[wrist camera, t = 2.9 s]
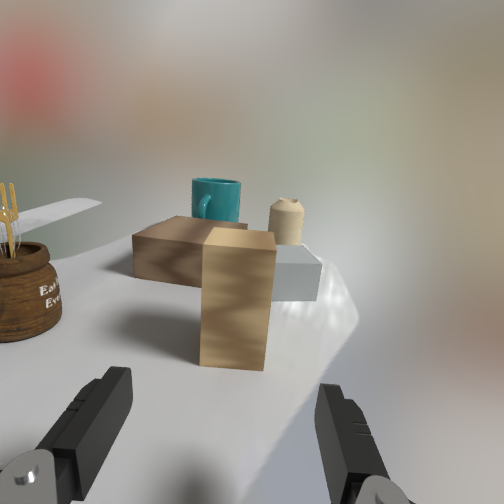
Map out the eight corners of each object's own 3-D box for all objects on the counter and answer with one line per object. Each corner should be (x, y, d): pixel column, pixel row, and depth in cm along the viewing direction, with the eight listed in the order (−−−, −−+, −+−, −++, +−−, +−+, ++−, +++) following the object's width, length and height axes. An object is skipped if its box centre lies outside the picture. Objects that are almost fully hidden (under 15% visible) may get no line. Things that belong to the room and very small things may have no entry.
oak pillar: (199, 366, 22) (202, 244, 19) (210, 329, 27) (214, 226, 24) (263, 371, 22) (277, 250, 19) (262, 333, 27) (273, 232, 24)
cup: (175, 245, 50) (175, 180, 47) (202, 230, 61) (203, 177, 58) (224, 252, 49) (227, 185, 45) (242, 236, 60) (246, 181, 56)
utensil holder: (-28, 354, 21) (-72, 193, 18) (-15, 314, 26) (-48, 182, 22) (65, 332, 25) (45, 193, 21) (61, 301, 30) (44, 183, 26)
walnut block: (134, 280, 36) (131, 235, 35) (176, 250, 49) (176, 215, 47) (225, 293, 35) (227, 247, 33) (245, 259, 47) (247, 223, 45)
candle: (282, 266, 45) (290, 202, 42) (258, 255, 48) (264, 196, 45) (304, 260, 48) (313, 201, 45) (280, 250, 52) (286, 195, 49)
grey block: (259, 302, 33) (263, 262, 32) (250, 278, 40) (252, 244, 38) (315, 302, 34) (322, 263, 33) (297, 278, 41) (302, 245, 39)
